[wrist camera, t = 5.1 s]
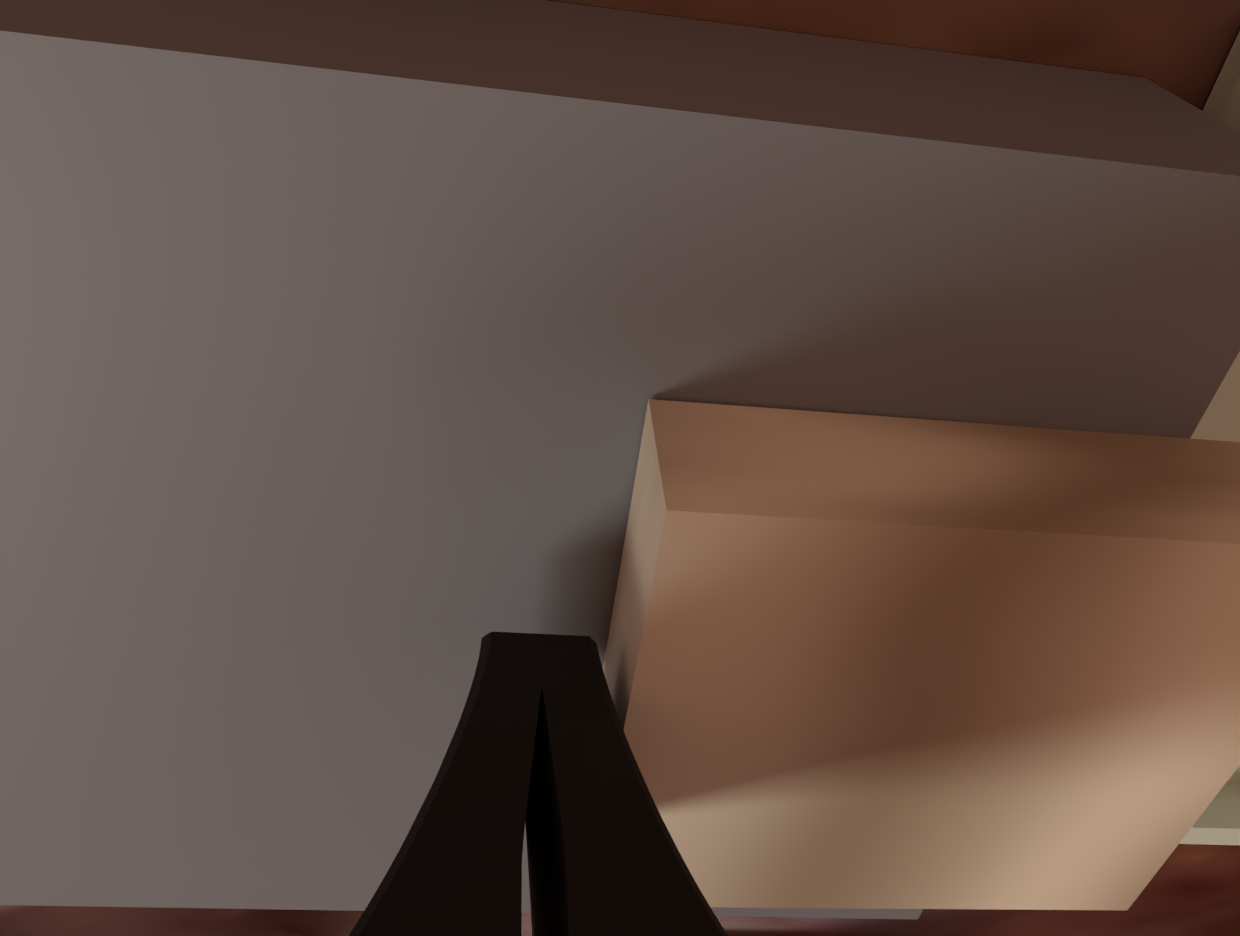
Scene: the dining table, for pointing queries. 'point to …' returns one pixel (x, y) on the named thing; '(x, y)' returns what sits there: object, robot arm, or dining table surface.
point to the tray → (1227, 418)
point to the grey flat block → (482, 366)
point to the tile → (926, 655)
